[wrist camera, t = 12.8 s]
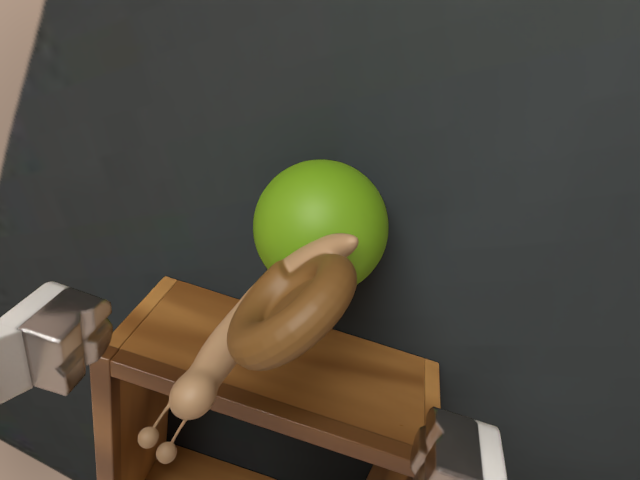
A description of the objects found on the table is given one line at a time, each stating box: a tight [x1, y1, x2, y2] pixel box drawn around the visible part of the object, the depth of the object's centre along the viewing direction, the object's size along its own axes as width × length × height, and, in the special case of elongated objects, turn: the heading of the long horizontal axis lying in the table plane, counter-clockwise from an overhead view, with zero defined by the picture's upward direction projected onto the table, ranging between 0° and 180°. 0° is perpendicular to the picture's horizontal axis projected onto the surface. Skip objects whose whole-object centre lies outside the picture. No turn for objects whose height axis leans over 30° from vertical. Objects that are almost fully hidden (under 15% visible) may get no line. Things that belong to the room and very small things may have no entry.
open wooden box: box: [90, 276, 441, 480], centre depth 25 cm, size 16×16×6 cm
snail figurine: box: [138, 159, 389, 464], centre depth 15 cm, size 5×6×12 cm
